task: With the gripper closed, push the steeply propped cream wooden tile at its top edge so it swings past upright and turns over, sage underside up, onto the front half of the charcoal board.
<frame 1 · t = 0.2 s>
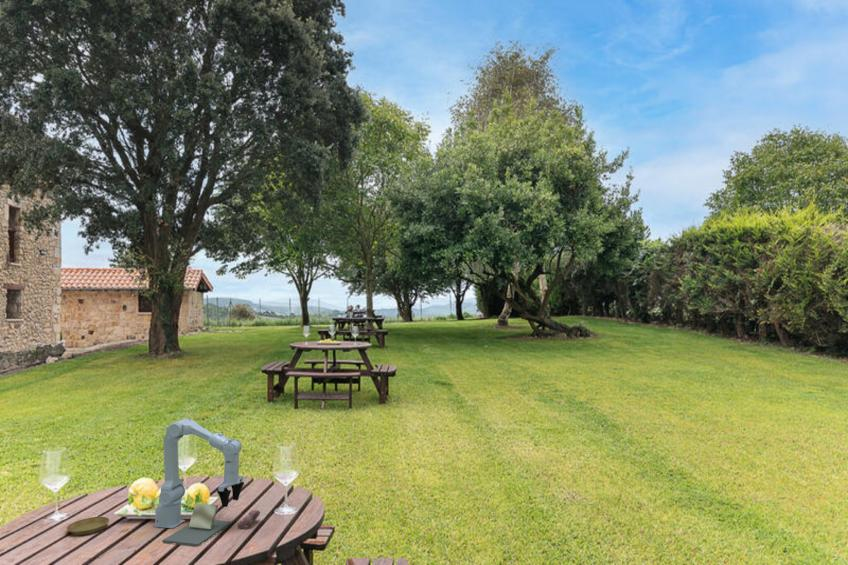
hand: (230, 503, 211), 10 cm above the table, tool pointing down, fingers open, 7 cm apart
tile: (203, 515, 208), point 6 cm above the table, hinge at 65.0°
plant saucer: (88, 530, 208), on the table
board: (198, 532, 205), on the table
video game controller: (249, 525, 213), on the table
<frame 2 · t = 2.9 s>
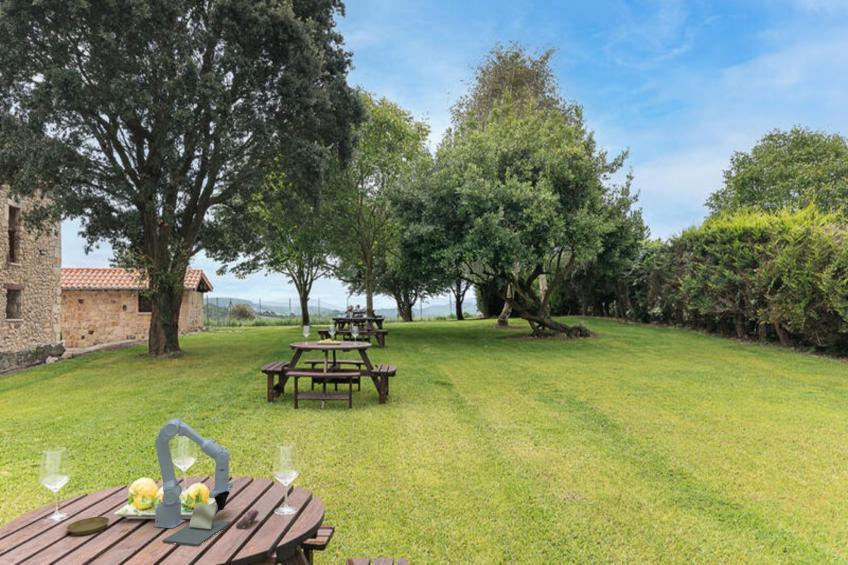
hand: (220, 509, 220), 4 cm above the table, tool pointing down, fingers closed
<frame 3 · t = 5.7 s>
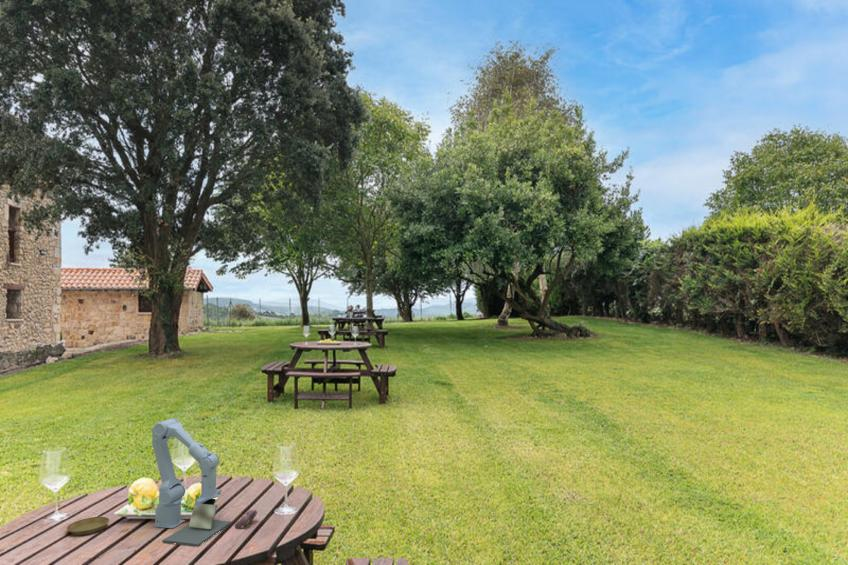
hand: (207, 517, 211), 4 cm above the table, tool pointing down, fingers closed, pressing on tile
tile: (203, 515, 208), point 6 cm above the table, hinge at 68.5°, touching gripper
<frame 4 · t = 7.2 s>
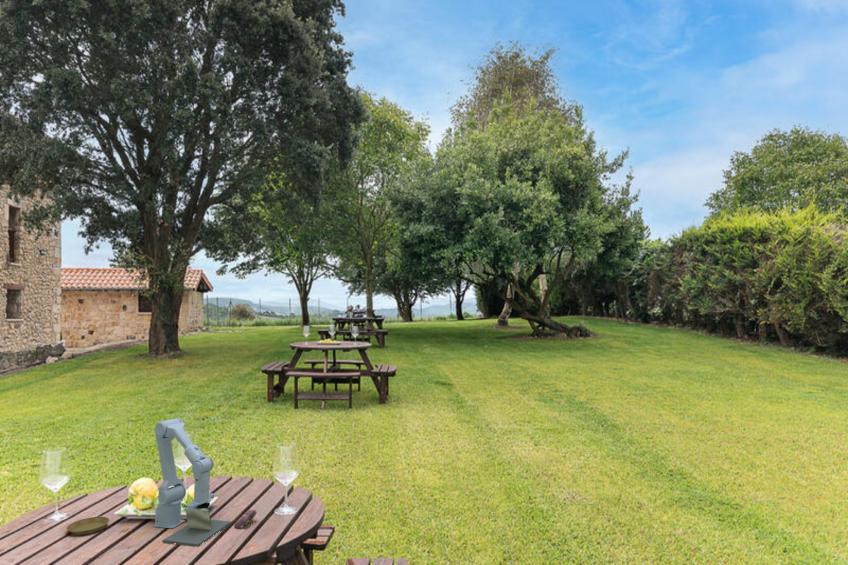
hand: (200, 522, 206), 4 cm above the table, tool pointing down, fingers closed, pressing on tile
tile: (198, 518, 205), point 6 cm above the table, hinge at 106.3°, touching gripper
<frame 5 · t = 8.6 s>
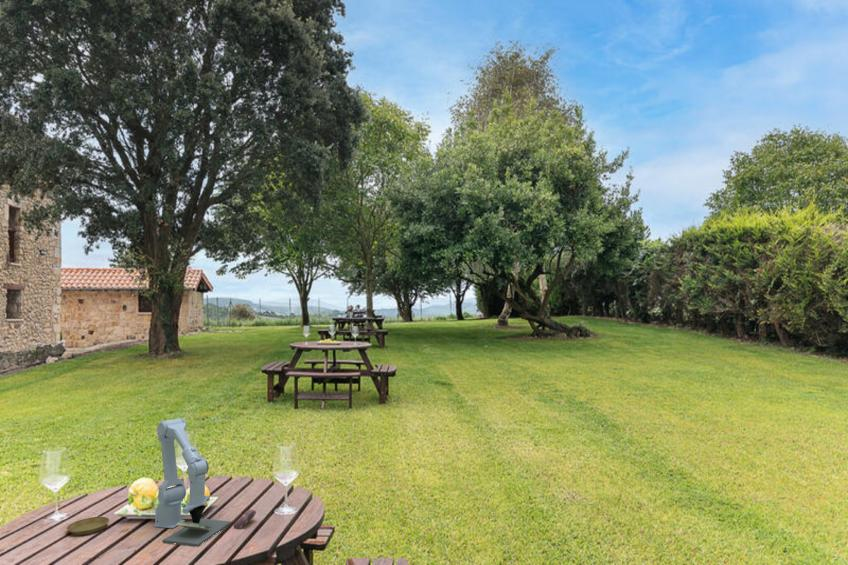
hand: (196, 524, 203), 4 cm above the table, tool pointing down, fingers closed, pressing on tile
tile: (194, 526, 202), point 4 cm above the table, hinge at 150.1°, touching gripper
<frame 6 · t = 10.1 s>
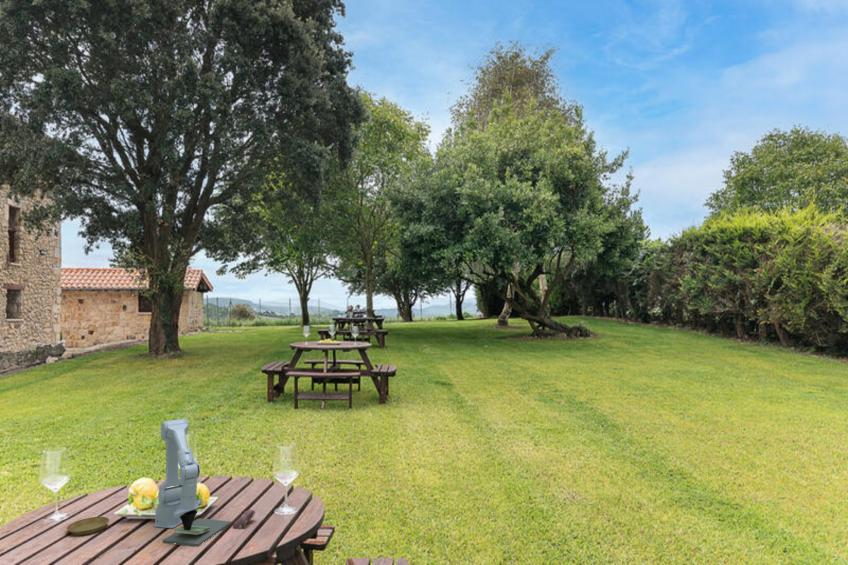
hand: (187, 530, 198), 4 cm above the table, tool pointing down, fingers closed, pressing on tile
tile: (193, 529, 202), point 3 cm above the table, hinge at 167.6°, touching gripper
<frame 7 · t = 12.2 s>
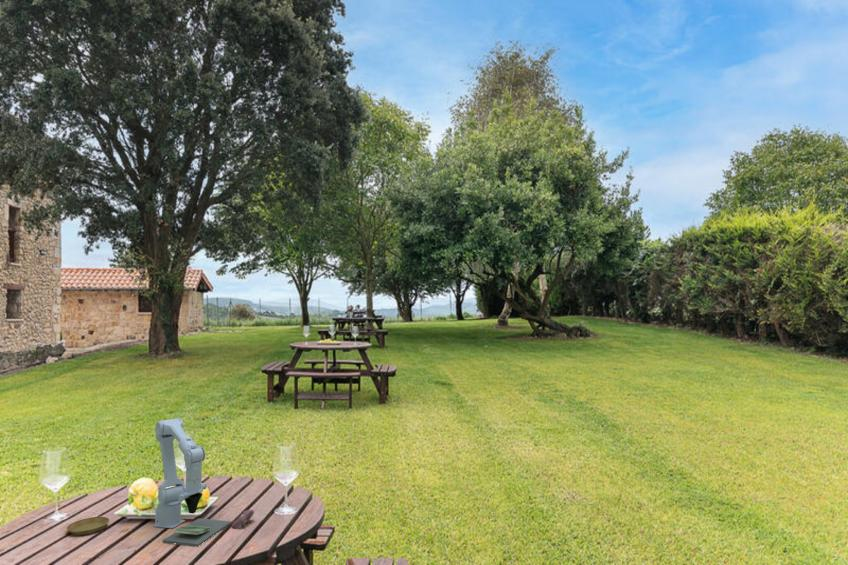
hand: (192, 512, 202), 9 cm above the table, tool pointing down, fingers closed
tile: (193, 529, 202), point 3 cm above the table, hinge at 167.6°
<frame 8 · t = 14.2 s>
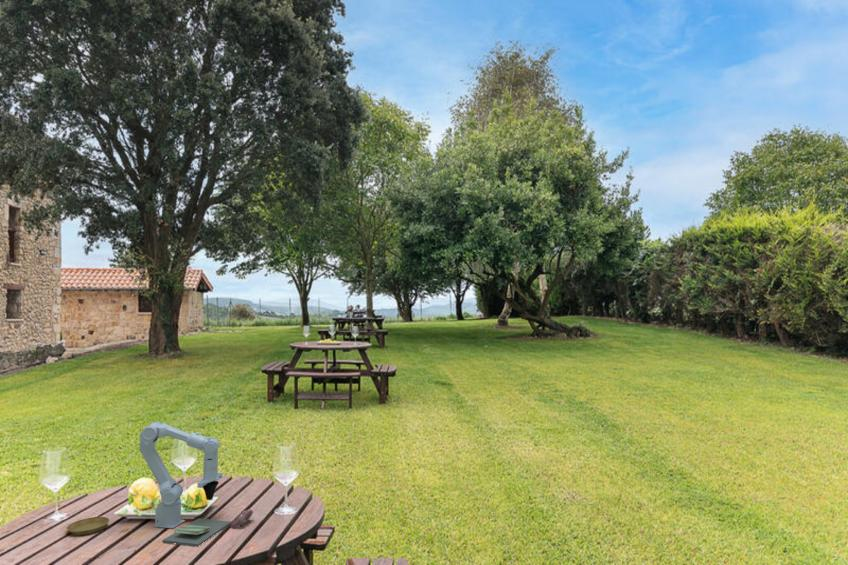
hand: (209, 499, 217), 9 cm above the table, tool pointing down, fingers closed
at the end: tile at +168° (first picture: +65°); the gripper is holding nothing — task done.
